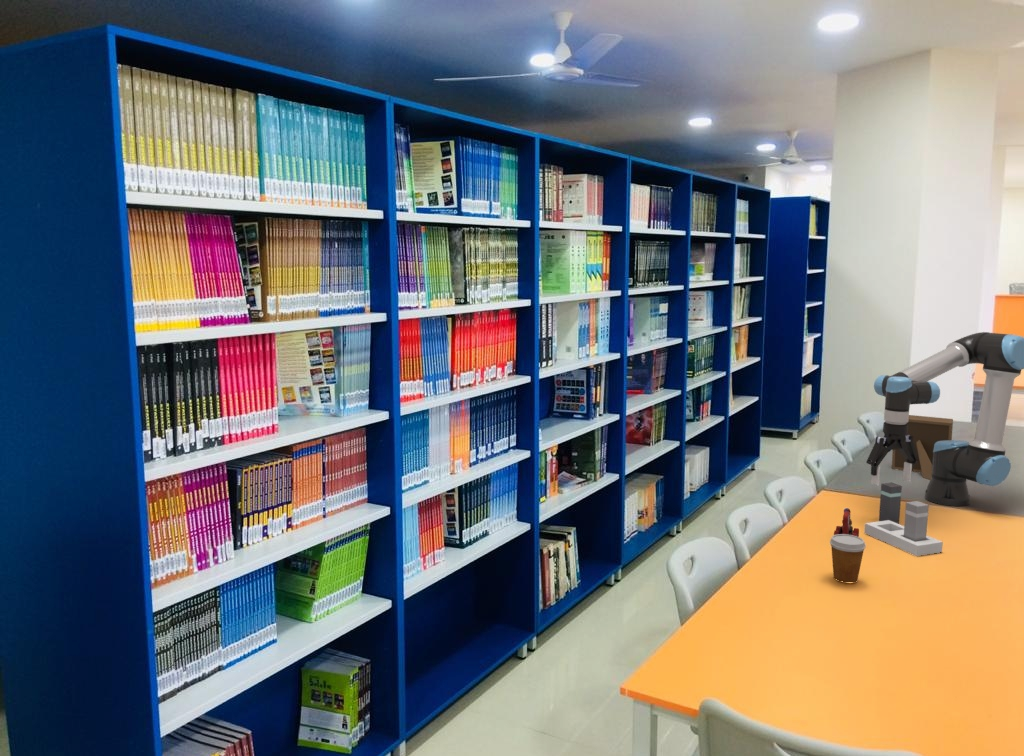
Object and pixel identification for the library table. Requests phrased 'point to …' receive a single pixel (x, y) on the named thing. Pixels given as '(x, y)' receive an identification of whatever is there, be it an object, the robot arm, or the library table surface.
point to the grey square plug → (916, 521)
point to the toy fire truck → (846, 525)
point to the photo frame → (924, 442)
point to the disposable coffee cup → (846, 556)
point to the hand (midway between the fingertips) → (890, 482)
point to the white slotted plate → (902, 538)
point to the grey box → (890, 502)
